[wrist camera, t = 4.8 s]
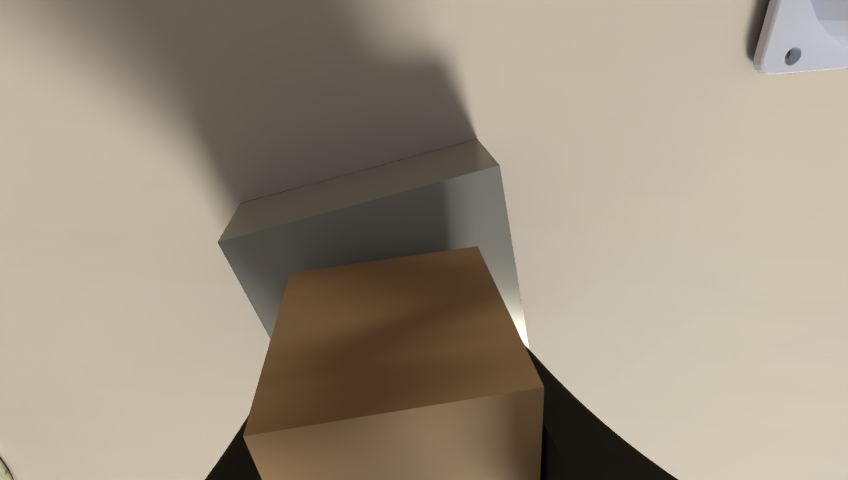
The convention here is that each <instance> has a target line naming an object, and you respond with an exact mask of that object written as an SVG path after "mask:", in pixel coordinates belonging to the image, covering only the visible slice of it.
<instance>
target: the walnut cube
mask: <svg viewBox="0 0 848 480" xmlns="http://www.w3.org/2000/svg"><path fill="white" fill-rule="evenodd" d="M543 403H544V386H543V383H542V381H541V379H540V377H539V375H538V373H537V371H536V369H535V366H534V364H533V362H532V360H531V358H530V356H529V354H528V352H527V350H526V347H525V345H524V343H523V341H522V339H521V337H520V335H519V333H518V330H517V328H516V326H515V324H514V322H513V320H512V318H511V316H510V314H509V311H508V309H507V307H506V305H505V303H504V301H503V299H502V297H501V295H500V292H499V290H498V288H497V286H496V284H495V282H494V280H493V278H492V275H491V273H490V271H489V269H488V267H487V265H486V263H485V261H484V259H483V256H482V254H481V252H480V250H479V248H478V246H475V247H468V248H461V249H454V250H447V251H440V252H433V253H426V254H419V255H412V256H405V257H398V258H391V259H384V260H377V261H370V262H363V263H356V264H349V265H342V266H336V267H329V268H322V269H315V270H308V271H301V272H294V273H290V275H289V278H288V282H287V285H286V288H285V292H284V295H283V299H282V302H281V306H280V309H279V313H278V316H277V320H276V323H275V327H274V330H273V334H272V337H271V341H270V344H269V348H268V351H267V354H266V358H265V361H264V365H263V368H262V372H261V375H260V379H259V382H258V386H257V389H256V393H255V396H254V400H253V403H252V407H251V410H250V413H249V417H248V420H247V424H246V427H245V431H244V434H243V438H244V440H245V442H246V445H247V447H248V449H249V451H250V454H251V456H252V458H253V461H254V463H255V465H256V467H257V470H258V472H259V474H260V477H261V479H262V480H540V470H541V448H542V425H543Z"/></svg>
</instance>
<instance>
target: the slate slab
mask: <svg viewBox="0 0 848 480" xmlns="http://www.w3.org/2000/svg"><path fill="white" fill-rule="evenodd" d="M218 244H219V246H220V247H221V249H222V251H223V253H224V255H225V257H226V258H227V260H228V262H229V264H230V266H231V268H232V269H233V271H234V273H235V275H236V277H237V278H238V280H239V282H240V284H241V286H242V288H243V289H244V291H245V293H246V295H247V297H248V298H249V300H250V302H251V304H252V306H253V308H254V309H255V311H256V313H257V315H258V317H259V319H260V320H261V322H262V324H263V326H264V328H265V329H266V331H267V333H268V335H269V337H270V339H271V337H272V334H273V330H274V327H275V323H276V320H277V316H278V313H279V309H280V306H281V302H282V299H283V295H284V292H285V288H286V285H287V282H288V278H289V275H290V273H294V272H301V271H308V270H315V269H322V268H329V267H336V266H342V265H349V264H356V263H363V262H370V261H377V260H384V259H391V258H398V257H405V256H412V255H419V254H426V253H433V252H440V251H447V250H454V249H461V248H468V247H475V246H478V248H479V250H480V252H481V254H482V256H483V259H484V261H485V263H486V265H487V267H488V269H489V271H490V273H491V275H492V278H493V280H494V282H495V284H496V286H497V288H498V290H499V292H500V295H501V297H502V299H503V301H504V303H505V305H506V307H507V309H508V311H509V314H510V316H511V318H512V320H513V322H514V324H515V326H516V328H517V330H518V333H519V335H520V337H521V339H522V341H523V343H524V344H525V345H526V346H527V347H528V340H527V334H526V328H525V322H524V315H523V309H522V303H521V297H520V290H519V284H518V278H517V272H516V265H515V259H514V253H513V247H512V240H511V234H510V228H509V222H508V215H507V209H506V203H505V197H504V190H503V184H502V178H501V172H500V165H499V164H498V163H497V162H496V161H495V159H494V158H493V157H492V156H491V155H490V153H489V152H488V151H487V150H486V149H485V148H484V146H483V145H482V144H481V143H480V142H479V141H478V139H477V140H473V141H469V142H466V143H462V144H458V145H455V146H451V147H447V148H444V149H440V150H436V151H433V152H429V153H425V154H422V155H418V156H414V157H410V158H407V159H403V160H399V161H396V162H392V163H388V164H385V165H381V166H377V167H374V168H370V169H366V170H363V171H359V172H355V173H351V174H348V175H344V176H340V177H337V178H333V179H329V180H326V181H322V182H318V183H315V184H311V185H307V186H304V187H300V188H296V189H292V190H289V191H285V192H281V193H278V194H274V195H270V196H267V197H263V198H259V199H256V200H252V201H248V202H244V203H241V204H240V206H239V207H238V209H237V211H236V212H235V214H234V216H233V217H232V219H231V221H230V222H229V224H228V226H227V227H226V229H225V231H224V232H223V234H222V236H221V237H220V239H219V241H218ZM528 348H529V347H528Z"/></svg>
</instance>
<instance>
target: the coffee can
mask: <svg viewBox="0 0 848 480" xmlns="http://www.w3.org/2000/svg"><path fill="white" fill-rule="evenodd" d="M0 480H13V478H12V476H11V474H10V472H9V471H8V469H7V468H6V466H5V465H4V464H3V462H2V461H1V460H0Z"/></svg>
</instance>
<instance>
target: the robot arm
mask: <svg viewBox="0 0 848 480" xmlns="http://www.w3.org/2000/svg"><path fill="white" fill-rule="evenodd" d="M789 50H790V56H789V57H788V59H787V60H786V61H785V56H786V54H787V52H788V51H789ZM784 61H785V62H784ZM753 65H754V68H755V70H756V71H757V72H759V73H764V74H770V75H773V74H784V73H796V72H808V71H819V70H831V69H842V68H848V0H770V2H769V5H768V9H767V12H766V16H765V20H764V23H763V27H762V30H761V34H760V37H759V41H758V45H757V48H756V52H755V55H754V61H753ZM524 345H525V344H524ZM525 347H526V350H527V352H528V354H529V356H530V358H531V360H532V362H533V364H534V366H535V369H536V371H537V373H538V375H539V377H540V379H541V381H542V383H543V386H544V403H543V425H542V448H541V470H540V480H678V479H676V478H675V477H673V476H672V475H670V474H669V473H667V472H666V471H665V470H663V469H662V468H660V467H659V466H658V465H656V464H655V463H654V462H652V461H651V460H650V459H648V458H647V457H645V456H644V455H643V454H641V453H640V452H639V451H637V450H636V449H635V448H634V447H632V446H631V445H630V444H629V443H627V442H626V441H625V440H623V439H622V438H621V437H620V436H618V435H617V434H616V433H615V432H614V431H612V430H611V429H610V428H609V427H608V426H607V425H605V424H604V423H603V422H602V421H601V420H600V419H598V418H597V417H596V416H595V415H594V414H593V413H592V412H591V411H589V410H588V409H587V408H586V407H585V406H584V405H583V404H582V403H581V402H580V401H579V400H578V399H576V398H575V397H574V396H573V395H572V394H571V393H570V392H569V391H568V390H567V389H566V388H565V387H564V386H563V385H562V384H561V383H560V382H559V381H558V380H557V379H556V378H555V377H554V376H553V375H552V374H551V373H550V372H549V370H548V369H547V368H546V367H545V366H544V365H543V364H542V363H541V362H540V361H539V360H538V359H537V357H536V356H535V355H534V354H533V353H532V352H531V351H530V350H529V348H528V347H527V346H526V345H525ZM248 417H249V416H248ZM248 417H247V419H246V420H245V422H244V423H243V425H242V427H241V428H240V430H239V431H238V433H237V434H236V436H235V437H234V439H233V440H232V442H231V443H230V445H229V446H228V448H227V449H226V451H225V452H224V454H223V455H222V457H221V458H220V459H219V461H218V462H217V464H216V465H215V466H214V468H213V469H212V471H211V472H210V473H209V475H208V476H207V478H206V479H205V480H262V479H261V477H260V474H259V472H258V470H257V467H256V465H255V463H254V461H253V458H252V456H251V454H250V451H249V449H248V447H247V445H246V442H245V440H244V438H243V434H244V431H245V427H246V424H247V420H248Z"/></svg>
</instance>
